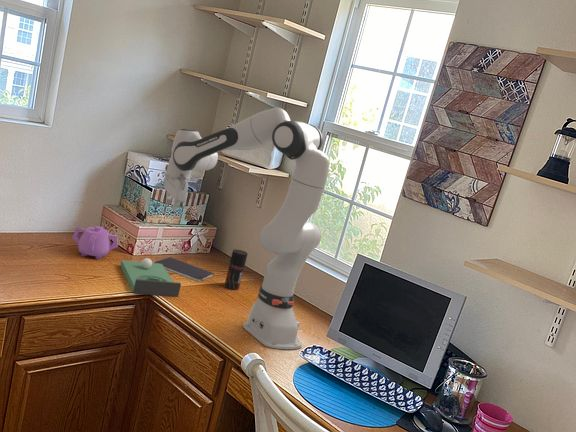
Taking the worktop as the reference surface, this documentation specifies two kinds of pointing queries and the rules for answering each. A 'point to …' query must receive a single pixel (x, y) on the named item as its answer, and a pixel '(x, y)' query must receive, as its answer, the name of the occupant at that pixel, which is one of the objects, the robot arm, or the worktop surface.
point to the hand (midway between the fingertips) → (171, 207)
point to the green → (149, 279)
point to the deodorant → (235, 269)
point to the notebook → (184, 269)
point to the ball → (146, 263)
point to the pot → (94, 241)
